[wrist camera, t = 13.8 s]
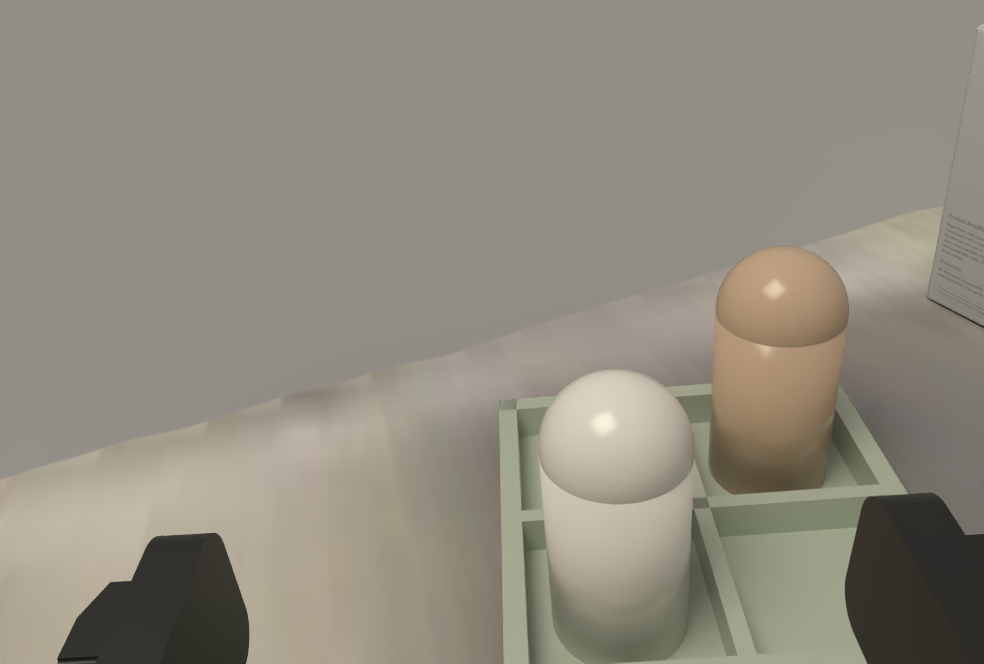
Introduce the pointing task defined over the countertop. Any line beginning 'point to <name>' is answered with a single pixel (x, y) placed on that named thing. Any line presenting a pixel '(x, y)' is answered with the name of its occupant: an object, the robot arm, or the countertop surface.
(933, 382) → the countertop surface
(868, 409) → the countertop surface
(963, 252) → the supplement box
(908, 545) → the robot arm
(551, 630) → the green rectangular open tray
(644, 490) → the white dome-topped cylinder
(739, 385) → the tan dome-topped cylinder
